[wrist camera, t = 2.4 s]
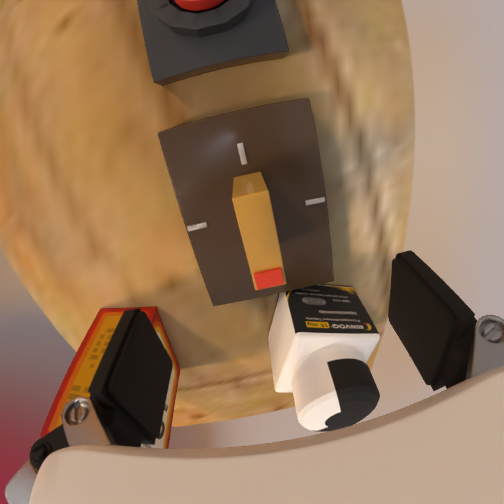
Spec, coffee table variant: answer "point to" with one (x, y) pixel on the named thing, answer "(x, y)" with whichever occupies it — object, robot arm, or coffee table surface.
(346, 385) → the medicine bottle
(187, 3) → the door button
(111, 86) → the coffee table surface
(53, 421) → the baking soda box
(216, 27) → the box
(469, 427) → the robot arm
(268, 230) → the orange block red tip
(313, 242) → the plate
